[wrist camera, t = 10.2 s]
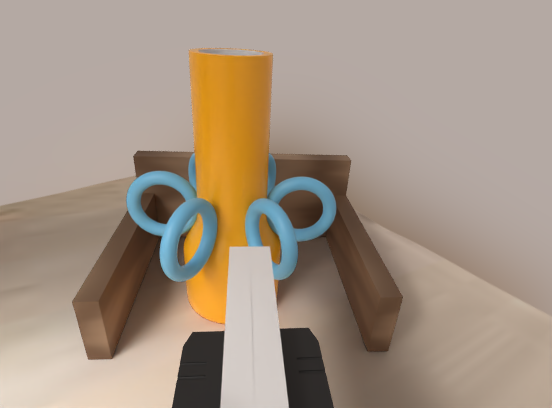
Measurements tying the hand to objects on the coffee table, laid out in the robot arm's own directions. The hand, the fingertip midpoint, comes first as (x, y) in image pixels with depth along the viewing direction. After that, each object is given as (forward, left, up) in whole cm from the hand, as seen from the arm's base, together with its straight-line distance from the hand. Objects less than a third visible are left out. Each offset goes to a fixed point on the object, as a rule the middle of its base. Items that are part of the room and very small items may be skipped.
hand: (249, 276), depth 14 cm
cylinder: (-6, +5, -8) cm, 11 cm away
